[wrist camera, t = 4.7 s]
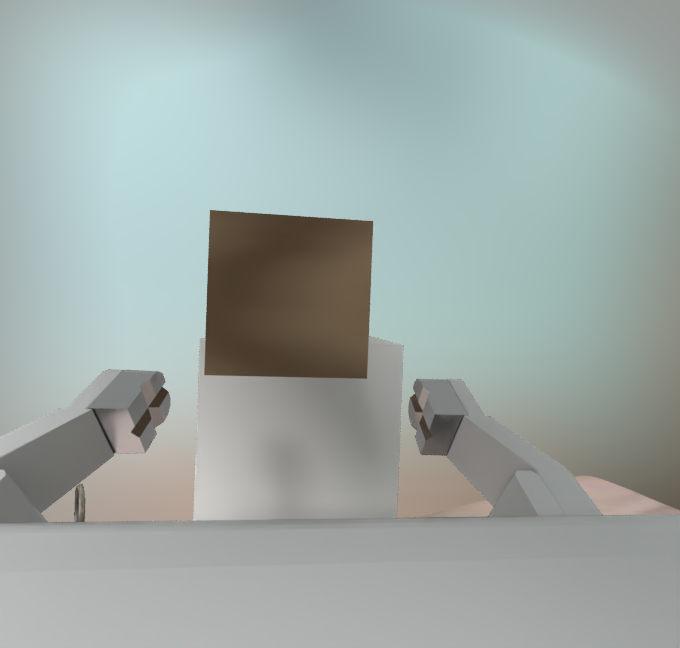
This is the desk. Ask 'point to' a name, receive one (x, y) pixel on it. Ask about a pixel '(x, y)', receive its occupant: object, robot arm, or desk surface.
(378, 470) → the white block
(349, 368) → the brown block
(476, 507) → the desk surface
